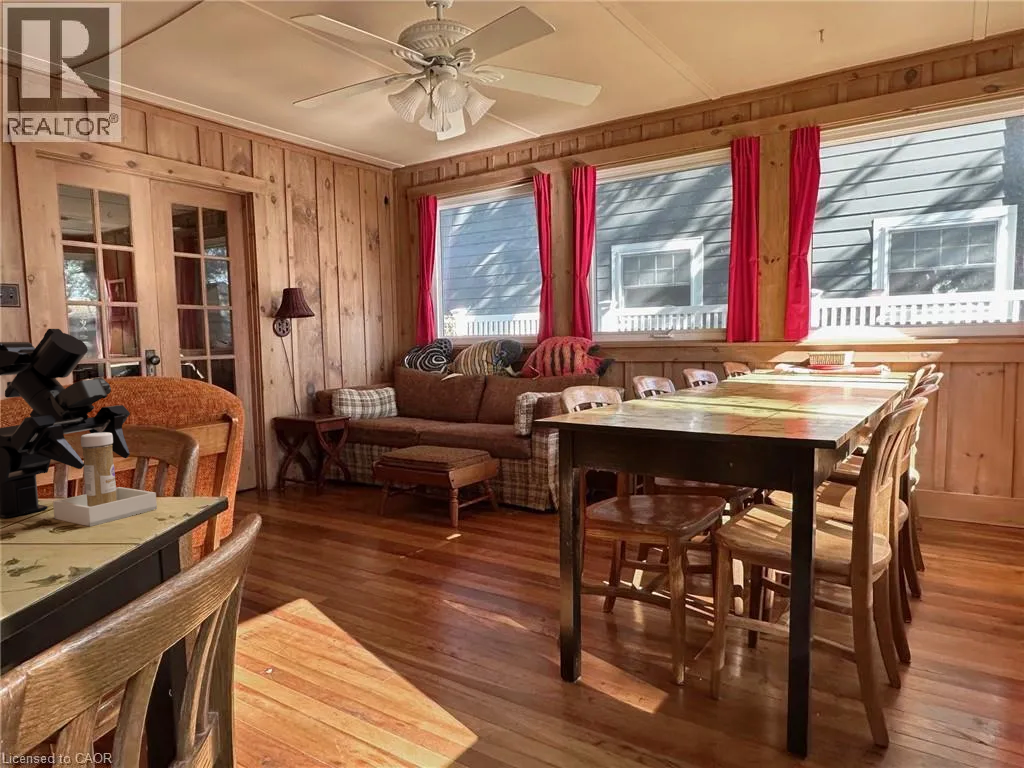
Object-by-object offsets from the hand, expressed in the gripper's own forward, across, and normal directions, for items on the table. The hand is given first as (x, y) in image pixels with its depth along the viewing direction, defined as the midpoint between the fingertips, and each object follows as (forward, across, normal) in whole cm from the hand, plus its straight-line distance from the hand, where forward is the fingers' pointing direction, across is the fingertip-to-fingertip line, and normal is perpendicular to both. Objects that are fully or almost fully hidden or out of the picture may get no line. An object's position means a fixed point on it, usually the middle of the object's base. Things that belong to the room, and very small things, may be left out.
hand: (105, 461), depth 108 cm
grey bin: (+6, +1, +8) cm, 9 cm away
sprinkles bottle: (+5, 0, +7) cm, 9 cm away
